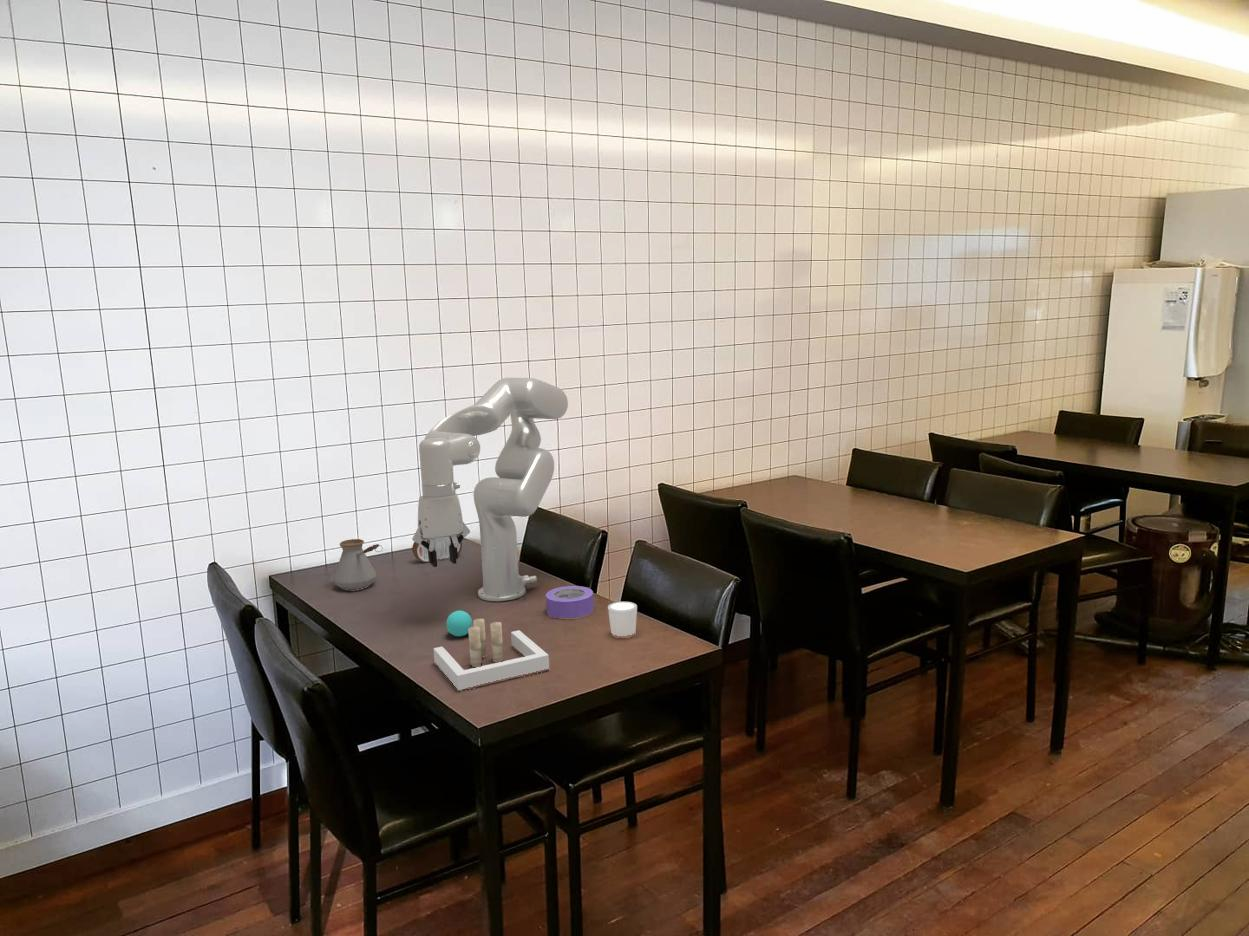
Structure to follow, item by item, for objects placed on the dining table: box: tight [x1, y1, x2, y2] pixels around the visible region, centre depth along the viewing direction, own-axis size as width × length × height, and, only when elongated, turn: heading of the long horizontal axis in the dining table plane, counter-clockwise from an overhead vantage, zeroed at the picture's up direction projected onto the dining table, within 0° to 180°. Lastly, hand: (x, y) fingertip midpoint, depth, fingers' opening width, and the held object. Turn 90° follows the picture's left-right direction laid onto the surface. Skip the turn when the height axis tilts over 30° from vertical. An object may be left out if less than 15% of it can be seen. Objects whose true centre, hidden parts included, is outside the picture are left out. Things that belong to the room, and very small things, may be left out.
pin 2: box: [490, 621, 504, 661], centre depth 203 cm, size 2×2×8 cm
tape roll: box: [545, 585, 595, 618], centre depth 233 cm, size 12×12×5 cm
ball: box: [445, 610, 473, 637], centre depth 219 cm, size 6×6×6 cm
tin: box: [412, 535, 463, 563], centre depth 281 cm, size 15×3×8 cm, turn 120°
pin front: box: [472, 618, 488, 657], centre depth 205 cm, size 2×2×8 cm
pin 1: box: [467, 625, 483, 666], centre depth 201 cm, size 2×2×8 cm
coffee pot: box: [333, 538, 384, 590], centre depth 253 cm, size 21×12×15 cm, turn 43°
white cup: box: [607, 601, 638, 636], centre depth 216 cm, size 7×7×7 cm
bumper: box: [433, 629, 550, 691], centre depth 200 cm, size 20×17×4 cm
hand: (443, 563), depth 225 cm, fingers open, 4 cm apart
